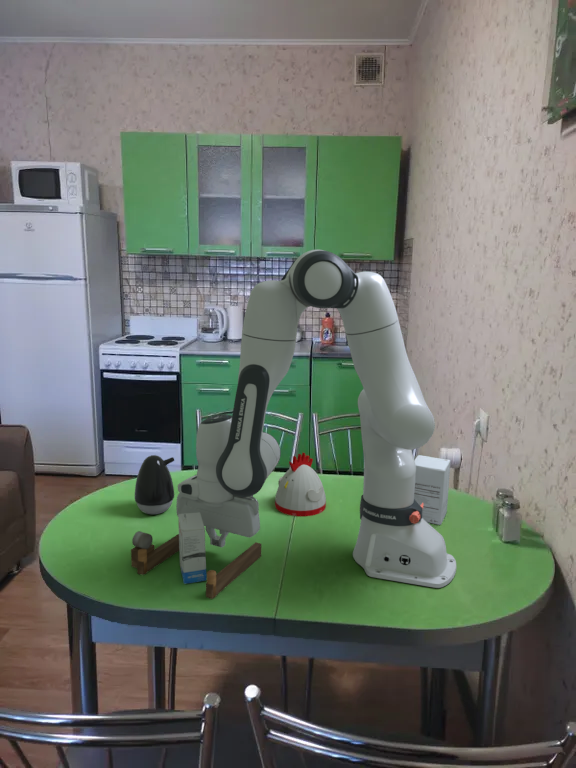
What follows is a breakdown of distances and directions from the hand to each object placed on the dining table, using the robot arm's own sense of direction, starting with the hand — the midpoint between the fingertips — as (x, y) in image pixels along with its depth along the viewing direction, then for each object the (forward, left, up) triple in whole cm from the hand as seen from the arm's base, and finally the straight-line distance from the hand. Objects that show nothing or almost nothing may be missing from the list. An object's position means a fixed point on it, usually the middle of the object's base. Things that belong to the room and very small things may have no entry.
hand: (217, 545), depth 124 cm
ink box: (0, +9, -2) cm, 10 cm away
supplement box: (-37, -44, -2) cm, 57 cm away
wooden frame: (+2, +6, -2) cm, 6 cm away
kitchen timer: (-5, -33, -2) cm, 33 cm away
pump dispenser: (+27, -11, -2) cm, 29 cm away
